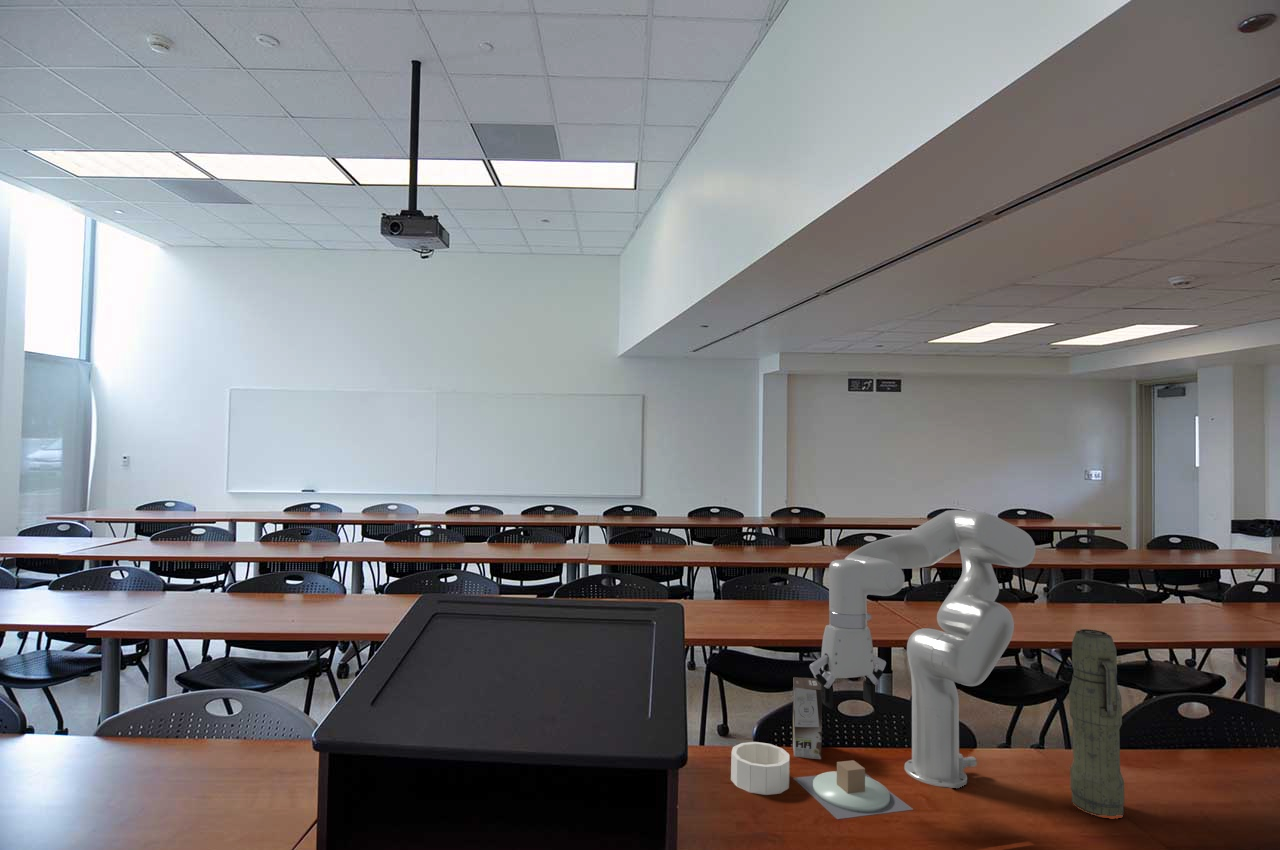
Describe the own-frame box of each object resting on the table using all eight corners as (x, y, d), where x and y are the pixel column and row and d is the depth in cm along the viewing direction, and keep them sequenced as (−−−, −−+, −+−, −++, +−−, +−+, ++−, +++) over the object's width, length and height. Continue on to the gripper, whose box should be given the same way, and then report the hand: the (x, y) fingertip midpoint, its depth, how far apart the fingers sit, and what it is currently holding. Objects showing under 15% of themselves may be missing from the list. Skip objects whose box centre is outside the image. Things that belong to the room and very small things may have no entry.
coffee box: (822, 762, 149) (822, 689, 150) (793, 758, 150) (794, 687, 151) (819, 746, 158) (820, 678, 159) (792, 743, 159) (793, 675, 160)
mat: (862, 773, 144) (862, 770, 144) (913, 812, 127) (913, 809, 127) (792, 780, 139) (793, 777, 139) (837, 822, 123) (837, 818, 123)
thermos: (1097, 794, 137) (1093, 625, 140) (1141, 824, 125) (1136, 639, 128) (1056, 793, 137) (1053, 624, 140) (1096, 823, 125) (1092, 638, 128)
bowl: (772, 768, 145) (772, 740, 145) (799, 793, 133) (799, 763, 134) (722, 772, 142) (723, 744, 142) (746, 799, 130) (746, 768, 131)
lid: (860, 773, 142) (860, 747, 143) (905, 807, 128) (905, 778, 128) (799, 779, 138) (799, 753, 139) (839, 815, 124) (839, 786, 124)
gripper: (873, 614, 142) (874, 695, 140) (801, 617, 137) (801, 700, 136) (895, 622, 134) (896, 707, 133) (820, 626, 130) (820, 714, 129)
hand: (848, 704), depth 135 cm, fingers open, 9 cm apart
